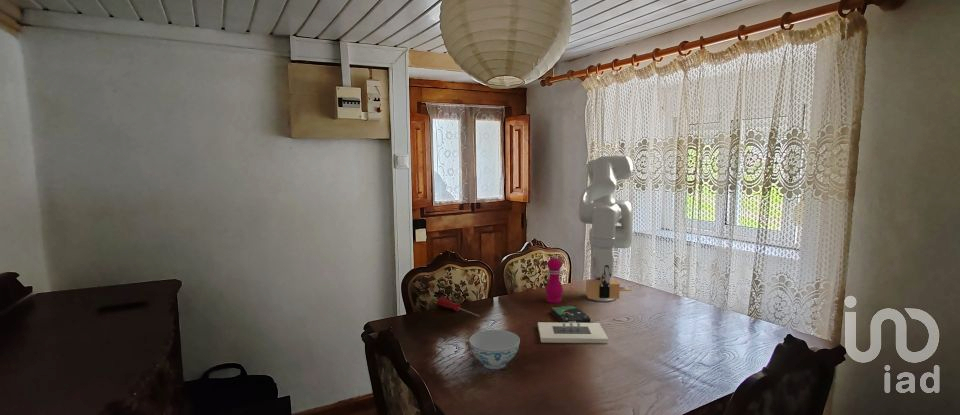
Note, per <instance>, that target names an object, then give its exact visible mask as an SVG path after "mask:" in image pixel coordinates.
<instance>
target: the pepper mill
mask: <svg viewBox="0 0 960 415" xmlns="http://www.w3.org/2000/svg"><path fill="white" fill-rule="evenodd" d="M551 257H552V258H550V259H548V261H547V264H546V265H547V268H548V270H547V271H548V272H547V273H548V274H549V280H548V282H547V284H546V287H545V294H546V295H547V296H546V301H547V302H548V303H552V304H558V303H562V301H563V300H562V294H563V293H564V290H563V286H562V284H561V281H560V274H561V268H562V266H563V265H562V261H561V260H560V259H559V258H557V255H556V254H553V255H552V256H551Z"/></svg>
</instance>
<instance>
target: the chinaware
mask: <svg viewBox="0 0 960 415" xmlns="http://www.w3.org/2000/svg"><path fill="white" fill-rule="evenodd" d="M468 341H469V346H470V349H471V352H472V353H473V355H474V357H475V358H476V359H477V360H478V361H479V362H480V363H482V364H483V366H484V367H485V368H487V369H491V370H499V369H502V368H504V367H506V365H507V364H508V363H509V362H510V361H512V360H513V358H515V356H516V354H517V352H518V350H519V347H520V342H521V339H520V336H518V335H517V334H516V333H515V332H511V331H508V330H502V329H485V330H480V331H477V332H475V333H473V334H472V335H471V336H470V338H469V340H468Z"/></svg>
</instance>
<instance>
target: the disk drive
mask: <svg viewBox="0 0 960 415" xmlns="http://www.w3.org/2000/svg"><path fill="white" fill-rule="evenodd" d="M550 313H551V315H552V316H554V317H555V318H556V319H557V320H558V321H559V323H563V322H565V323H570V322H572V323H578V322H579V323H591V317H590V316H588V315H587V314H586V313H585V312H583V311H582V310H581V309H580V308H579V307H577V306H576V305H563V306H557V307H554V306H552V307H551V308H550Z"/></svg>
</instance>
